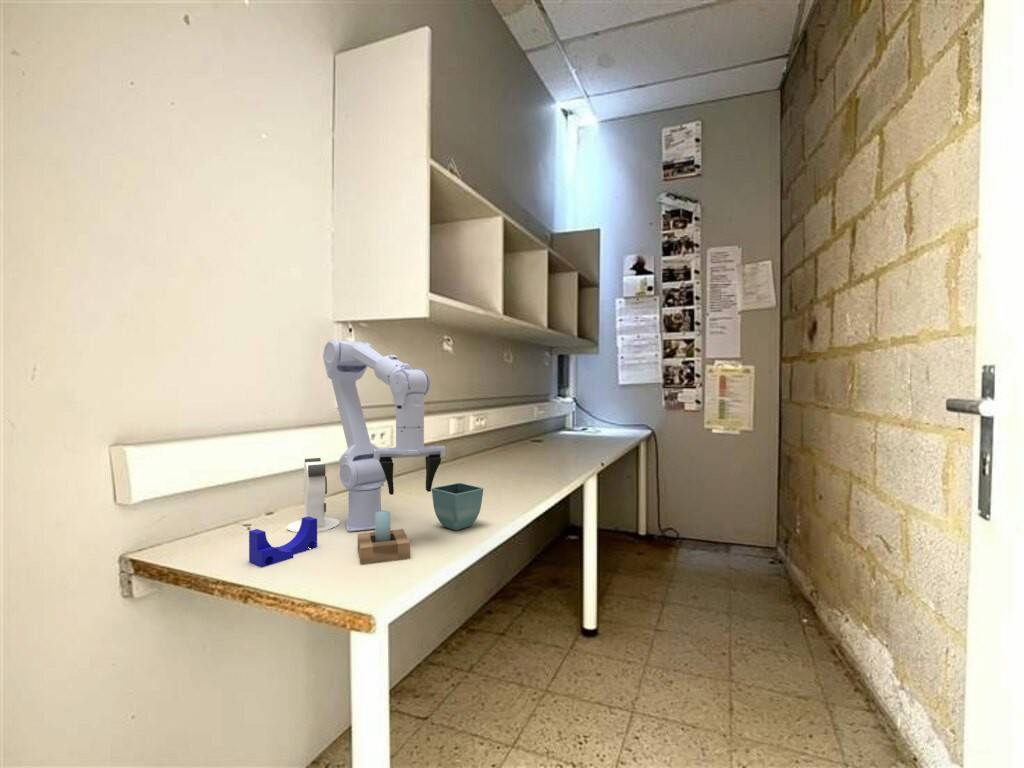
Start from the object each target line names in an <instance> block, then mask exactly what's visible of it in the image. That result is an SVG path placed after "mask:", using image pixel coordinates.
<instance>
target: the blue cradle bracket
mask: <svg viewBox="0 0 1024 768" xmlns="http://www.w3.org/2000/svg"><path fill="white" fill-rule="evenodd" d="M301 520H302V522H301V526H300V529H299V531H298V533H295V535H294V537H293V538H292V539H291V540H290V541H289V542H287V543H286V544H283V545H280V546H272V545H271V544H270V543H269V541H268V539H267V535H266V533H267V532H266V531H264V530H263V529H262V530H261V529H259V528H257V529H251V530H248V562H249V563H250V564H252V565H254V566H256V567H259V568H261V569H262V568H265V567H269V566H272V565H275V564H278V563H281V562H284V561H287V560H288V561H289V560H291V559H293V558H294V555H297V554H300V553H304V552H307V551H306V550H308V551H310V550H309V548H311V550H314V549H316V547H317V548H318V532H317V519H316V518H313V517H309V516H308V517H302V518H301ZM308 547H309V548H308ZM313 548H314V549H313Z"/></svg>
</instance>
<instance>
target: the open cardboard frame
mask: <svg viewBox="0 0 1024 768" xmlns="http://www.w3.org/2000/svg"><path fill="white" fill-rule="evenodd" d="M357 554H358V558H359V559H360V560H359V563H360V564H362V565H367V564H368V565H369V563H370V564H376V562H378V563H385V562H392V560H393V561H400V560H399V559H401V560H407V559H406V558H409V559H411V542H410V540H409V537H408V535H407V533H406V531H405V529H404V528H400V529H390V541H386V542H377V543H376V542H375V531H372V532H371V531H370V532H363V533H361V532H360V533H357Z"/></svg>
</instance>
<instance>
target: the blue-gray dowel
mask: <svg viewBox="0 0 1024 768" xmlns="http://www.w3.org/2000/svg"><path fill="white" fill-rule="evenodd" d="M374 530H375V531H374V532H375V542H376V543H377V542H386V541H390V530H391V511H390V510H381V511H378V512H376V513H375V529H374Z"/></svg>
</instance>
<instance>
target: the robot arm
mask: <svg viewBox="0 0 1024 768" xmlns="http://www.w3.org/2000/svg"><path fill="white" fill-rule="evenodd" d="M322 354H323V355H322V359H323V362H324V363H323V364H324V367H325V371H326V375H327V378H329V379H330V380H331V385H332V387H333V392H334V396H335V397H334V398H335V400H336V405H337V408H338V414H339V417H340V421H341V425H342V429H343V433H344V438H345V442H346V447H347V449H346V450H345V452H344V453H343V454H342V455H341V456H340V458H339V460H338V461H339V480H340V481H341V484H342V485H343V486H344V487H345V489H346V490H348V492H347V493H348V496H347V497H348V498H347V499H348V502H347V503H348V517H347V518H346V519H345V524H346V531H347V532H356V531H368V530H375V513H376V512H378V511H382V487H384V483H385V482H386V483H387V487H388V494H389V495H393V496H394V492H395V491H394V490H395V489H394V464H395V463H394V462H393V459H401V458H402V459H404V458H421V457H422V458H423V457H425V458H424V460H425V474H426V475H425V490H426V492H428V493H429V492H430V493H432V488H433V482H434V478H435V476H436V473H437V470H438V468H439V466H440V465H441V462H442V457H445V456H446V446H444V445H425V396H426V395H427V394H428V393H429V391H430V388H431V380H430V375H429V374H428V373H427V372H426V371H425V370H424V369H423V368H417V369H413V368H412V367H411V365H410V364H409V363H405V362H402V361H400V360H399V359H398V358H399V357H398V356H397V355H395V354H389V355H385V356H383V354H380V353H379V352H378V351H376V349H374V348H373V346H372V343H368V342H367V341H349V340H336V339H329V340H327V342H326V344H325V345H324V349H323V353H322ZM368 368H370V369H372V370H374V371H373V372H374V376H375V377H376V378H377V379H378V380H380V381H381V382H382V383H384V384H385V385H387V386H389V389H390V391H391V394H392V398H393V401H392V402H393V404H394V405H395V447H385V448H379V447H378V446H376V445H375V444H373V443H372V442H371V438H370V436H369V431H368V428H367V423H366V420H365V419H366V418H365V415H364V412H363V407H362V405H361V400H360V396H359V392H358V388H357V385H356V383H357V381H358V380H361V379H362V378H363V376H364V375H365V372H366V371H367V369H368Z"/></svg>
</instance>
